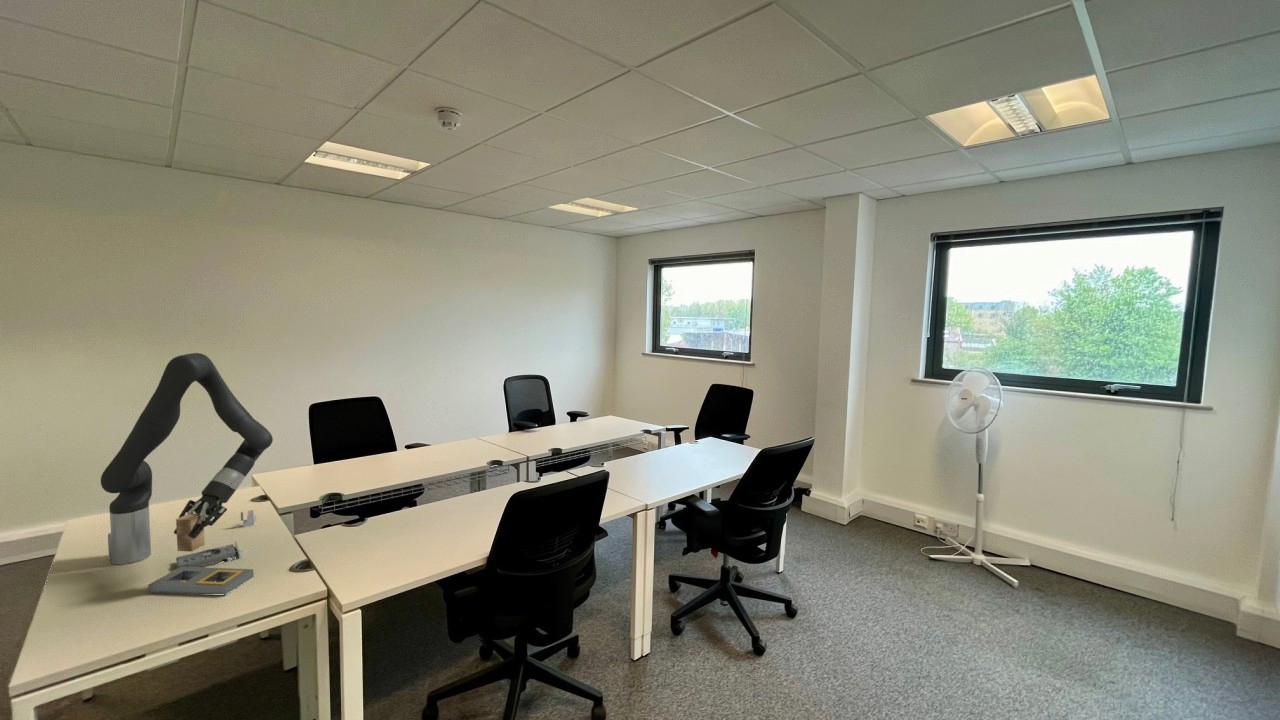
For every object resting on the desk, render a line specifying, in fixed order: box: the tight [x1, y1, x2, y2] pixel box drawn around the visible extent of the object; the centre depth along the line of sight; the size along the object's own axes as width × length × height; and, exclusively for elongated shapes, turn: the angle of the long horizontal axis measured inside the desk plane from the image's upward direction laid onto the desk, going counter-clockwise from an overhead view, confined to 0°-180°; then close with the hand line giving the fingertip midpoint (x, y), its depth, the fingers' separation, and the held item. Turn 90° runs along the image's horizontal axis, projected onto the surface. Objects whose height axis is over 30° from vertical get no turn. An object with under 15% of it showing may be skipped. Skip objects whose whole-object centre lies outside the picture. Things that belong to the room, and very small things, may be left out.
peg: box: [175, 513, 206, 552], centre depth 154 cm, size 4×4×10 cm
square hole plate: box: [147, 566, 255, 596], centre depth 155 cm, size 23×11×3 cm, turn 90°
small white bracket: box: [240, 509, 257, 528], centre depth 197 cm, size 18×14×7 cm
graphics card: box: [175, 539, 244, 569], centre depth 170 cm, size 17×4×12 cm
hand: (184, 535), depth 152 cm, fingers closed on peg, 5 cm apart
